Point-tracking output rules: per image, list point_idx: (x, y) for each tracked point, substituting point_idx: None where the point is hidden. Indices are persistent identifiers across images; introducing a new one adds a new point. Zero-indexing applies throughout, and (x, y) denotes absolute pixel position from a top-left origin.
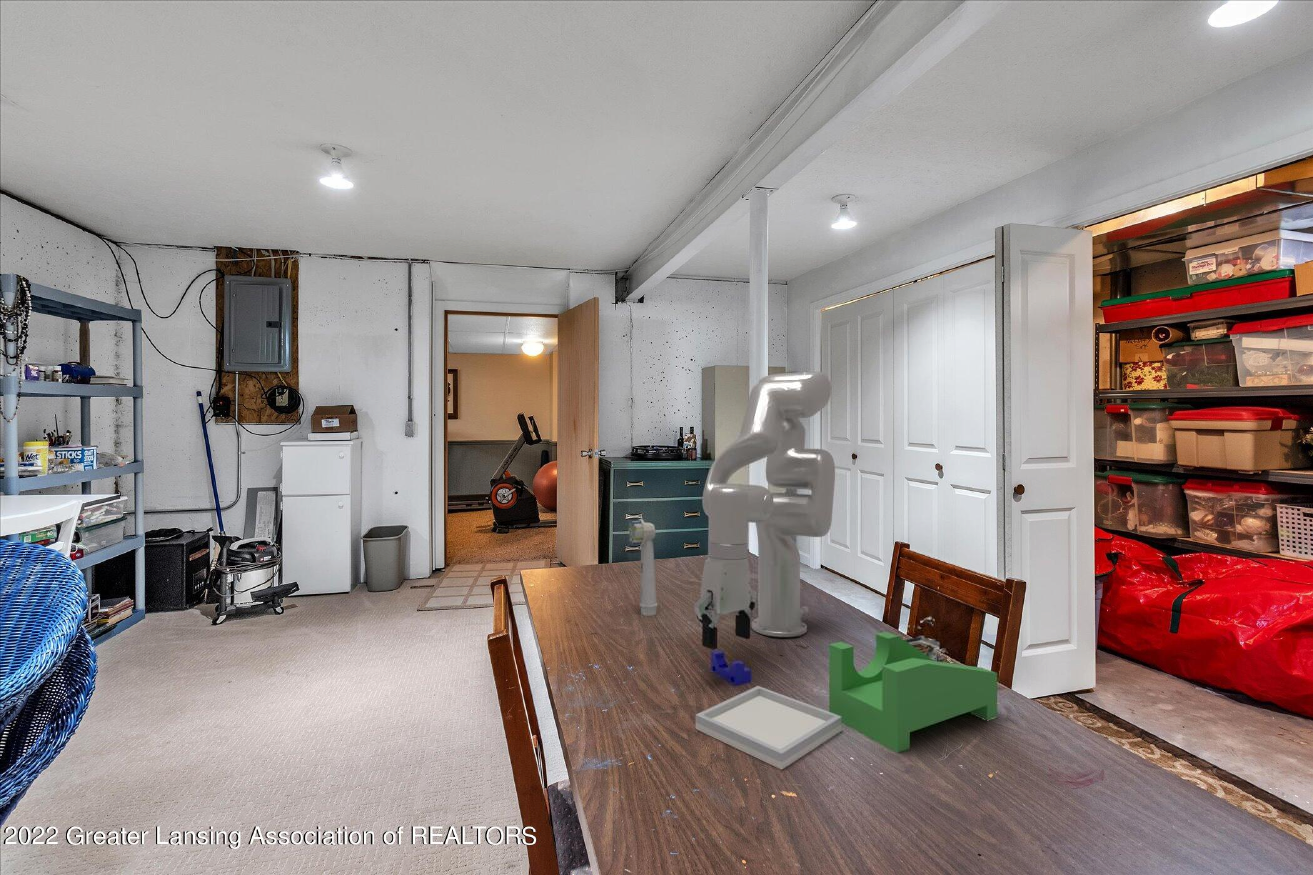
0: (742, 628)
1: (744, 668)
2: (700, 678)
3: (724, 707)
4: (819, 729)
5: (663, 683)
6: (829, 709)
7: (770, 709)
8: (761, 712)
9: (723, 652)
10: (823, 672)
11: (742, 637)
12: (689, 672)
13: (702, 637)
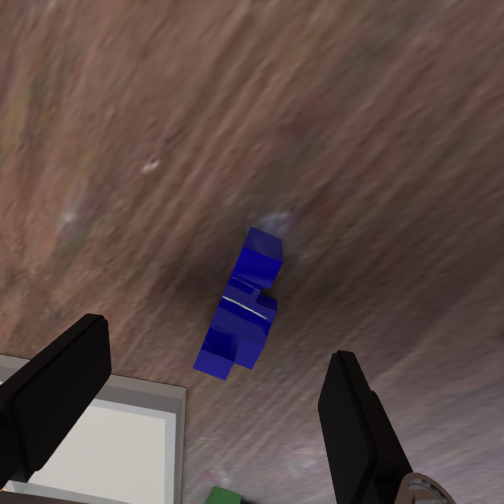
0: (334, 424)
1: (248, 353)
2: (182, 232)
3: None
4: None
5: (74, 165)
6: (212, 498)
7: (136, 437)
8: (113, 430)
9: (268, 287)
10: (417, 443)
11: (323, 384)
12: (194, 177)
13: (62, 335)
